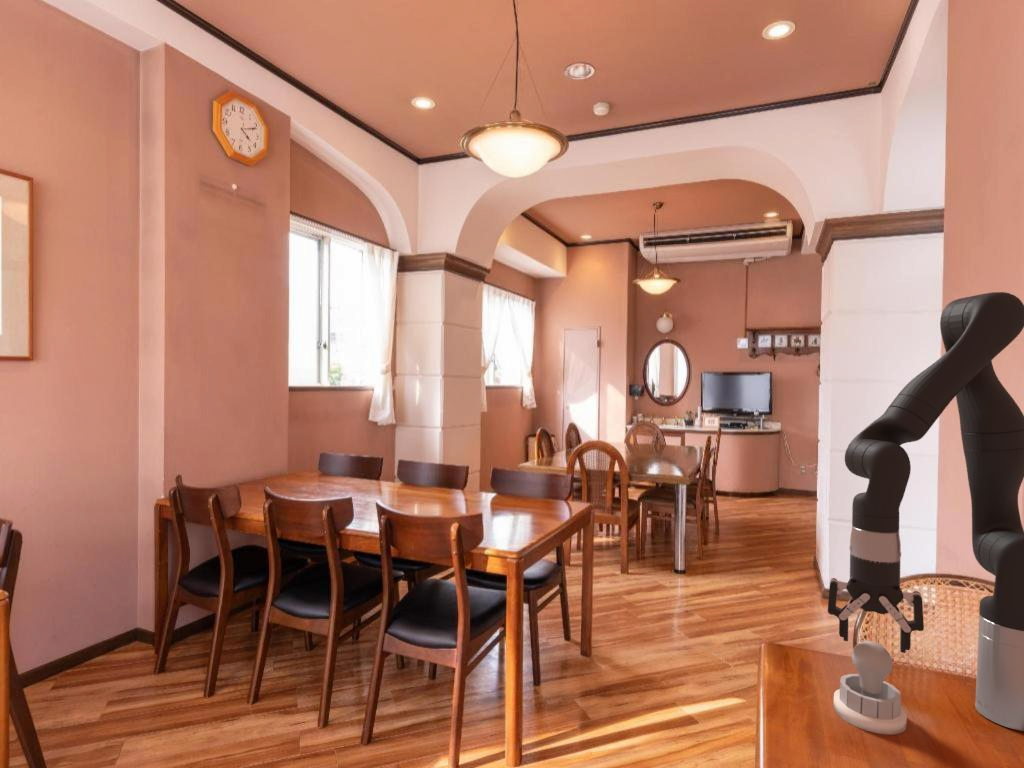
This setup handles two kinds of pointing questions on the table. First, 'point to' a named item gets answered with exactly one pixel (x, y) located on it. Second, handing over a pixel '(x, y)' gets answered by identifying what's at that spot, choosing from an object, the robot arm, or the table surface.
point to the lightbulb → (871, 666)
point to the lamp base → (870, 721)
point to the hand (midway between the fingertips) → (873, 645)
